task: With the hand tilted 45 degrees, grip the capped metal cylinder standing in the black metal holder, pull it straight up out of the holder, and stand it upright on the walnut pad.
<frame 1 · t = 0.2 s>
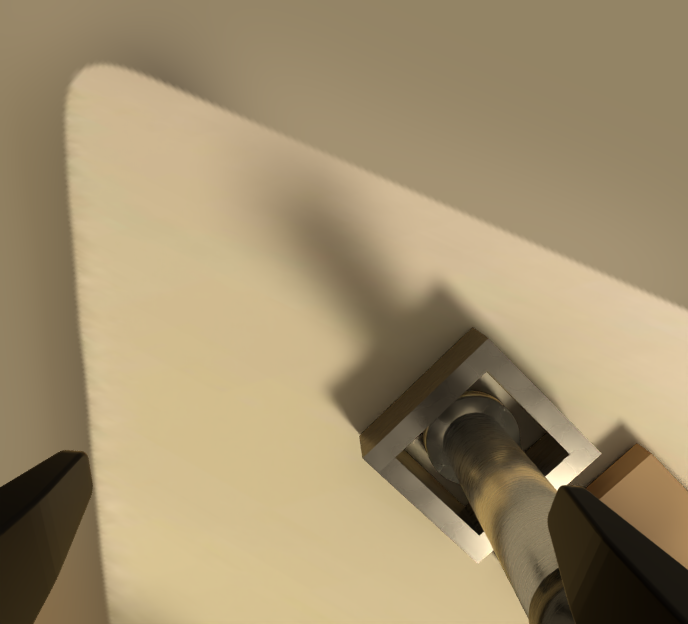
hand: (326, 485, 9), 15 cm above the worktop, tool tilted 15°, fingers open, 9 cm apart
walnut pad: (624, 560, 27), on the worktop
key holder: (468, 433, 26), on the worktop
capped metal cylinder: (514, 502, 19), in the key holder
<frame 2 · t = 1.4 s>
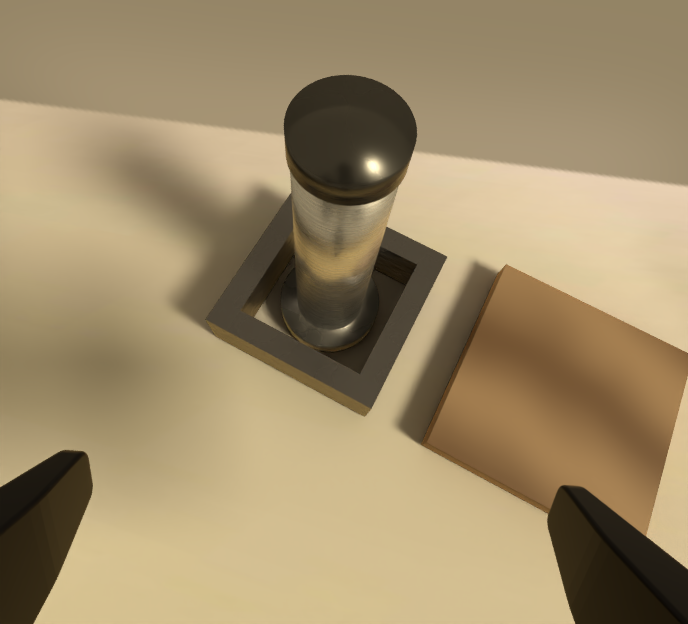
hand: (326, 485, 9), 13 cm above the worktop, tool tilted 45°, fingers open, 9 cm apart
walnut pad: (554, 401, 24), on the worktop
key holder: (329, 305, 24), on the worktop
capped metal cylinder: (336, 246, 18), in the key holder
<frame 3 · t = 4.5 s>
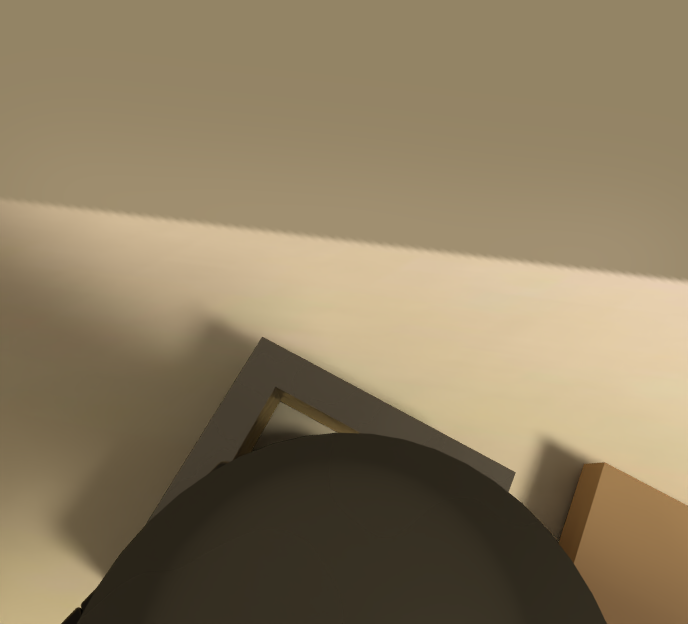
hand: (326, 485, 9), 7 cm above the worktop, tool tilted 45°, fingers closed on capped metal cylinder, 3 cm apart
key holder: (315, 532, 15), on the worktop
capped metal cylinder: (320, 564, 9), in the key holder, touching gripper
when the fingers open (9 cm above the worktop, at t = 8.6 s): capped metal cylinder drops 1 cm, resting on walnut pad.
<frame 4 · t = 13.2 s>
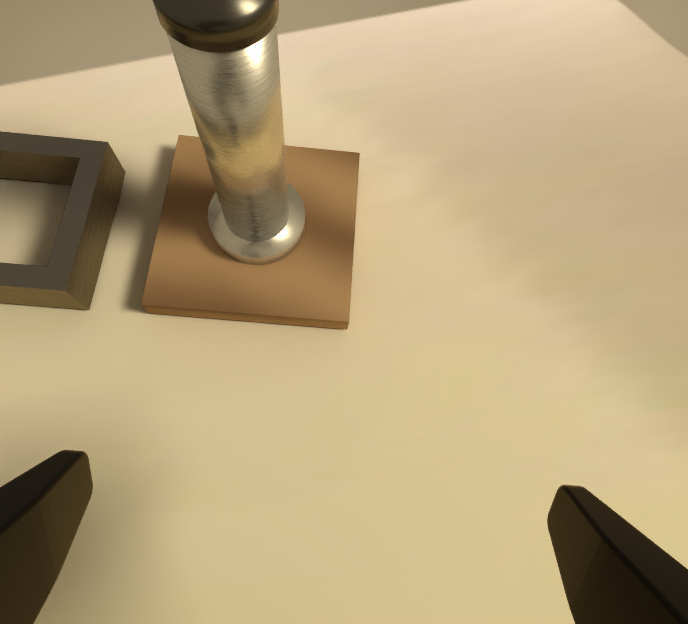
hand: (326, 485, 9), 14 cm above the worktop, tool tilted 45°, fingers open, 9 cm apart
walnut pad: (260, 234, 26), on the worktop
key holder: (28, 230, 25), on the worktop
capped metal cylinder: (242, 138, 19), on the walnut pad, point 8 cm above the worktop
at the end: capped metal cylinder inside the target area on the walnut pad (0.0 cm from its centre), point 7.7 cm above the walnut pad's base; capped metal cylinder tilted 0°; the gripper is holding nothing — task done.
